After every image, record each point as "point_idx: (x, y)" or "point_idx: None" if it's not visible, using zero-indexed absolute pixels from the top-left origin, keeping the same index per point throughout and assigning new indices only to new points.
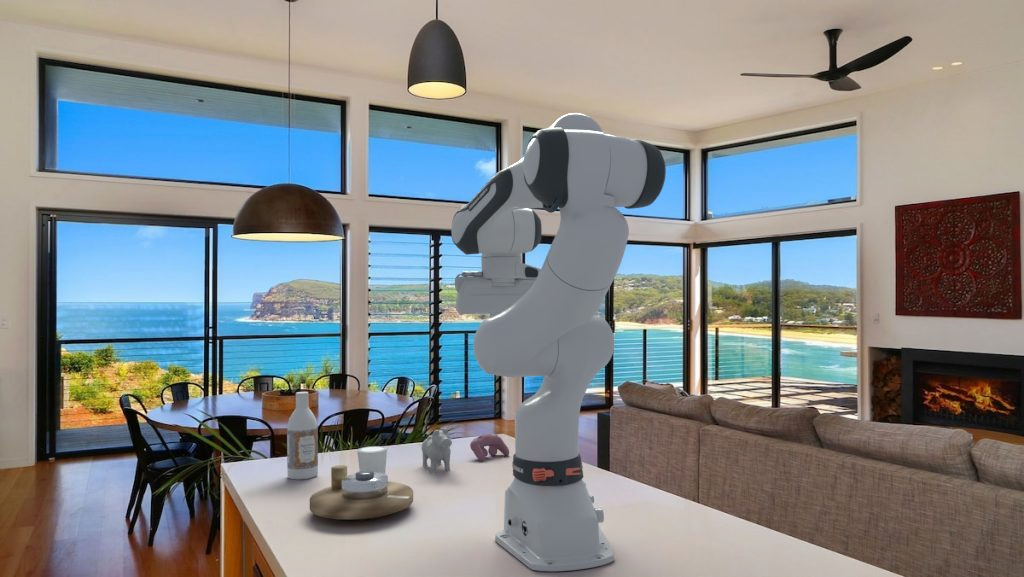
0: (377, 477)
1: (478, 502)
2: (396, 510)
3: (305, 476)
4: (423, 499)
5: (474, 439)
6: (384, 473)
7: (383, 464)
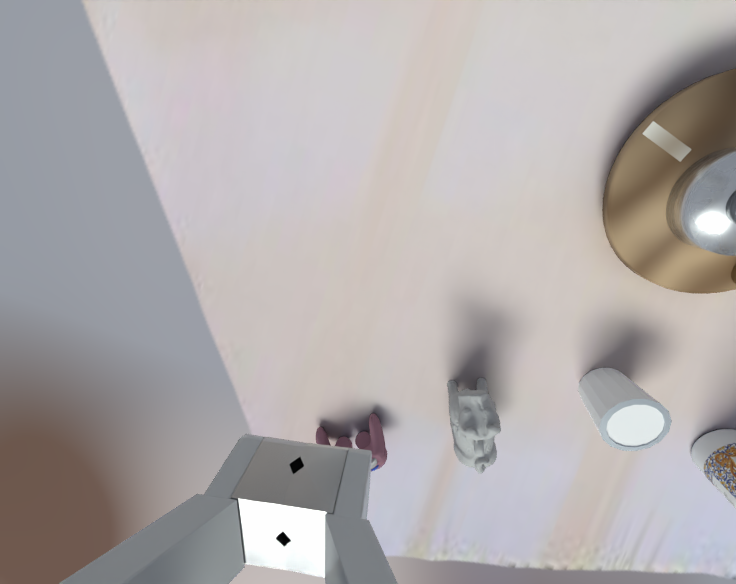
0: (719, 197)
1: (468, 160)
2: (682, 90)
3: (729, 431)
4: (561, 220)
5: (377, 465)
6: (586, 383)
7: (600, 389)
